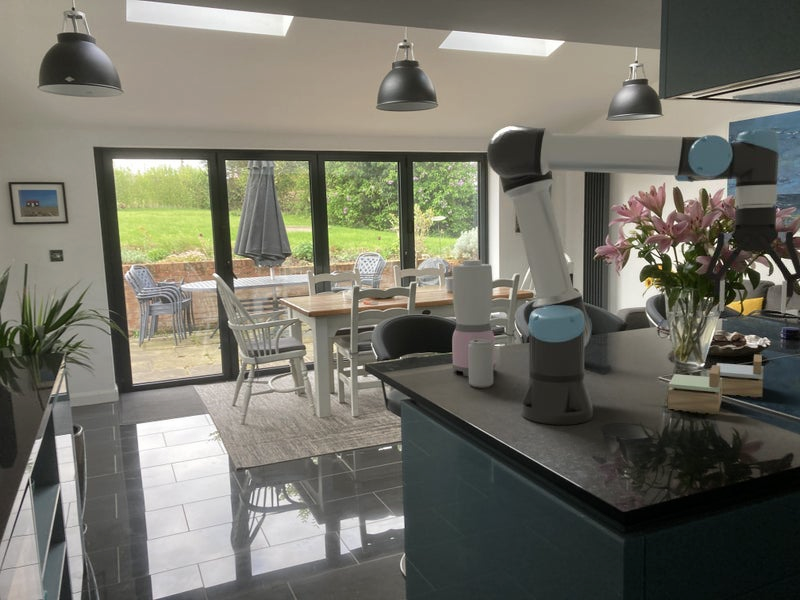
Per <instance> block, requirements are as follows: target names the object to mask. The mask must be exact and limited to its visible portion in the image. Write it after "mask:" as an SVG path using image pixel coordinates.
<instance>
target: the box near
mask: <svg viewBox="0 0 800 600" xmlns="http://www.w3.org/2000/svg"><path fill="white" fill-rule="evenodd" d="M668 388H669V389H668V398H667V399H668V401H667V403H668V405H667V410H669V409H674V410H673V411H678V410H682V411H681V412H687V411H689V412H690V413H696V412H697V413H699V414H705V413H709V414H708V415H714V414H720V409H721V404H722V399H723V398H722V395H723V394H722V384H721V387H720V391H719V392H712V391H701V390H691V389H680V388H670V387H668Z"/></svg>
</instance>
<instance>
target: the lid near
mask: <svg viewBox="0 0 800 600" xmlns="http://www.w3.org/2000/svg"><path fill="white" fill-rule="evenodd" d="M721 384H722V378H720V366H717V364H713V365H711V368H710V371H709V376H702V375H689V374H679V373H677V374H676V373H674V374H673V376H672V378H671V379H670V381H669V382H668V388H680V389H691V390H701V391H712V392H719V391H720V387H721Z"/></svg>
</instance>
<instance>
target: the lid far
mask: <svg viewBox="0 0 800 600" xmlns="http://www.w3.org/2000/svg"><path fill="white" fill-rule="evenodd" d="M762 356H763V354H757V353H755V354H754V355H753V362H752V363H753V364H752V365H747V364H734V363H721V362H720V363H719V362H716V365H717V366H720V376H732V377H744V378H756V379H763V380H764V366H762V359H763V357H762Z"/></svg>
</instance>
